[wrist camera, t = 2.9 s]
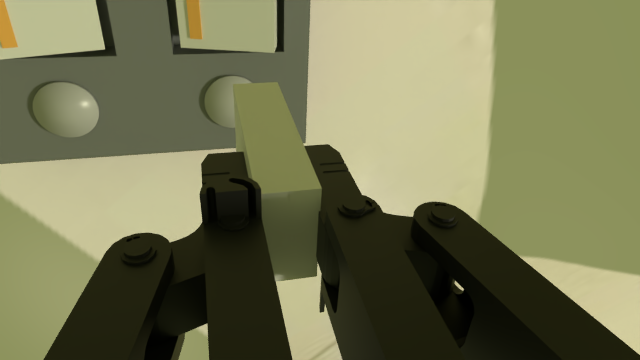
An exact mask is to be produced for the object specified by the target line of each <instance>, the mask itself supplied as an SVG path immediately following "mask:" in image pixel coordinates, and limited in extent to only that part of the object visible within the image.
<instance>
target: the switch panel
mask: <svg viewBox="0 0 640 360" xmlns="http://www.w3.org/2000/svg"><path fill="white" fill-rule="evenodd" d="M96 5H97V10H98V15H99V20H100V26H101V31H102V36H103V41H104V46H105V49H104V50H94V51H83V52H73V53H63V54H53V55H42V56H32V57H22V58H12V59H1V60H0V164H6V163H21V162H36V161H50V160H65V159H79V158H94V157H109V156H123V155H138V154H152V153H167V152H181V151H196V150H211V149H225V148H236V133H235V115H234V97H233V84H245V83H270V82H278V85H279V87H280V90H281V92H282V94H283V97H284V99H285V102H286V104H287V106H288V109H289V111H290V113H291V116H292V118H293V121H294V123H295V125H296V128H297V130H298V133H299V135H300V137H301V140H302V142H303V143H305V141H306V112H307V83H308V54H309V25H310V0H277V47H276V50H275V52H274V53H267V52H249V51H231V50H214V49H196V48H181V44H180V35H179V26H178V17H177V8H176V0H96Z"/></svg>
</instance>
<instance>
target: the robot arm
mask: <svg viewBox="0 0 640 360" xmlns="http://www.w3.org/2000/svg"><path fill="white" fill-rule="evenodd" d="M233 97H234V115H235V133H236V152H230V153H215V154H208V155H207V157H206V158H205V159H204V161H203V162H202V164H201V168H202V188H201V191H200V203H201V212H202V221H203V222H202V224H201V225H200V227H199V228H198V229H197V230H196V231H195V232H193V233H192V234H190V235H189V236H187V237H184V238H182V239H180V240H177V241H174V242H171V243H170V242H169V241H168V239H166V238H165V237H163V236H161V235H159V234H153V233H138V234H133V235H130V236H127V237H124V238H122V239H120V240H119V241H117V242H115V243H114V244H113V245H112V246H111V247H110V248H109V249H108V250H107V251H106V253H105V255H104V256H103V258H102V260H101V261H100V263H99V265H98V267H97V268H96V270H95V272H94V274H93V276H92V277H91V279H90V280H89V283H88V284H87V286H86V287H85V289H84V291H83V293H82V294H81V296H80V298H79V299H78V301H77V303H76V305H75V306H74V308H73V310H72V312H71V313H70V315H69V317H68V318H67V320H66V322H65V324H64V325H63V327H62V329H61V330H60V332H59V334H58V336H57V337H56V339H55V341H54V343H53V344H52V346H51V348H50V350H49V351H48V353H47V355H46V356H45V358H44V360H178V359H179V355H180V352H181V349H182V345H183V342H184V339H185V338H184V337H185V332H188V331H190V330H192V329H195V328H197V327H199V326H202V325H204V324H206V323H208V343H209V360H292V356H291V351H290V346H289V342H288V337H287V332H286V328H285V323H284V319H283V314H282V309H281V305H280V300H279V295H278V291H277V286H276V281H284V280H291V279H299V278H306V277H314V276H317V261H318V264H319V267H320V270H321V273H322V277H321V291H320V312H324V307H325V305H326V308H327V311H328V314H329V317H330V321H331V324H332V327H333V330H334V334H335V337H336V340H337V343H338V346H339V350H340V353H341V356H342V359H343V360H640V355H639V354H638V353H636V352H635V351H634V350H633V349H632V348H630V347H629V346H628V345H627V344H625V343H624V342H623V341H622V340H621V339H619V338H618V337H617V336H616V335H614V334H613V333H612V332H611V331H610V330H608V329H607V328H606V327H605V326H603V325H602V324H601V323H600V322H598V321H597V320H596V319H595V318H594V317H592V316H591V315H590V314H589V313H587V312H586V311H585V310H584V309H583V308H581V307H580V306H579V305H578V304H576V303H575V302H574V301H573V300H572V299H570V298H569V297H568V296H567V295H565V294H564V293H563V292H562V291H561V290H559V289H558V288H557V287H556V286H554V285H553V284H552V283H551V282H550V281H548V280H547V279H546V278H545V277H543V276H542V275H541V274H540V273H539V272H537V271H536V270H535V269H534V268H532V267H531V266H530V265H529V264H527V263H526V262H525V261H524V260H523V259H521V258H520V257H519V256H518V255H516V254H515V253H514V252H513V251H512V250H510V249H509V248H508V247H507V246H505V245H504V244H503V243H502V242H501V241H499V240H498V239H497V238H496V237H494V236H493V235H492V234H491V233H490V232H488V231H487V230H486V229H485V228H483V227H482V226H481V225H480V224H479V223H477V222H476V221H475V220H474V219H472V218H471V217H470V216H469V215H468V214H466V213H465V212H464V211H462V210H461V209H459V208H457V207H456V206H453V205H450V204H447V203H443V202H428V203H424V204H422V205H420V206H418V207H417V208H416V210H415V211H414V215H413V217H407V216H398V215H392V214H386V213H384V212H383V211H382V210H381V208H380V206H379V205H378V204H377V203H376V202H375V201H374V200H373V199H371V198H369V197H367V196H364V195H362V194H361V192H360V190H359V189H358V187H357V185H356V183H355V181H354V179H353V177H352V175H351V174H350V172H349V171H348V168H347V166H346V164H344V160H343V159H342V157H341V155H340V153H339V152H338V151H337V150H335V149H334V148H332V147H331V146H330V145H328V144H326V145H312V146H304V145H303V142H302V140H301V137H300V135H299V133H298V130H297V128H296V125H295V123H294V121H293V118H292V116H291V113H290V111H289V109H288V106H287V104H286V102H285V99H284V97H283V94H282V92H281V90H280V87H279V85H278V82H270V83H245V84H233ZM455 281H456V282H457V283H458V284H459V285H460V286H461V287H462V288H463V289H464V291H462V290H460V289H459V288H458V287H457V286H456V285H455V284H454V282H455Z"/></svg>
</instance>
